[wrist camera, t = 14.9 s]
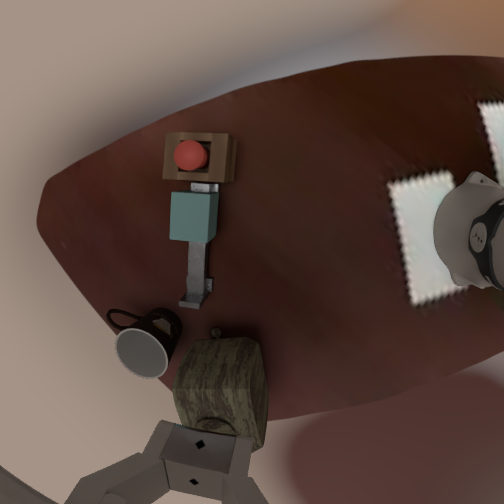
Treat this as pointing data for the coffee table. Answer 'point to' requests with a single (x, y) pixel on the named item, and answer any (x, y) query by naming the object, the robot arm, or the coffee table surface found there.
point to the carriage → (193, 216)
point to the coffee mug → (147, 341)
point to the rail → (198, 264)
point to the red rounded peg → (191, 155)
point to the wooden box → (220, 157)
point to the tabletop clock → (223, 388)
